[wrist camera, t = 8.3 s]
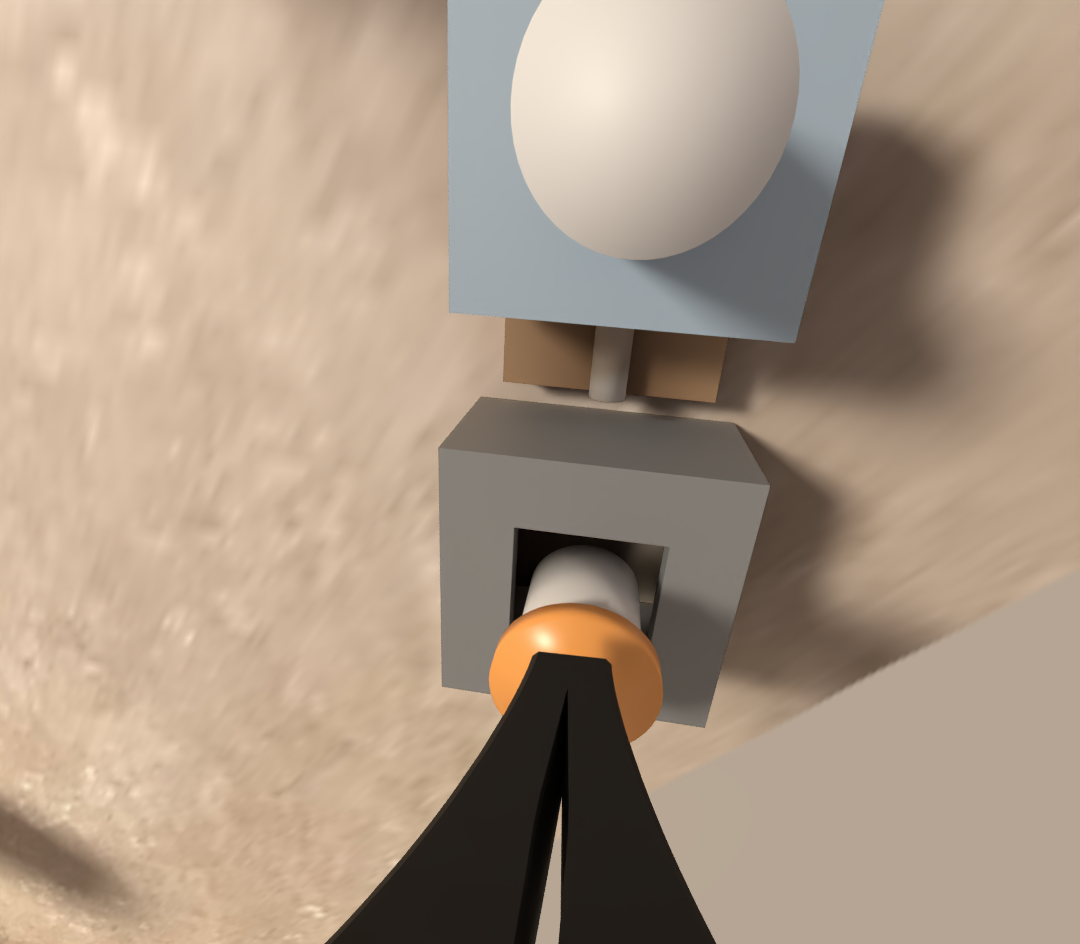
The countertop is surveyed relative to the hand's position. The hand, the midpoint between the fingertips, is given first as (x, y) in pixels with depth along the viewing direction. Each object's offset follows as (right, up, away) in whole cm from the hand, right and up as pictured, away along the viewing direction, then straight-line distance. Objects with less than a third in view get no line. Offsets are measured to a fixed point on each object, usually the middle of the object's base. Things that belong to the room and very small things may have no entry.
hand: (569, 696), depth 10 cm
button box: (+1, +2, +9) cm, 9 cm away
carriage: (+1, +11, +2) cm, 11 cm away
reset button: (+1, +1, +5) cm, 5 cm away
